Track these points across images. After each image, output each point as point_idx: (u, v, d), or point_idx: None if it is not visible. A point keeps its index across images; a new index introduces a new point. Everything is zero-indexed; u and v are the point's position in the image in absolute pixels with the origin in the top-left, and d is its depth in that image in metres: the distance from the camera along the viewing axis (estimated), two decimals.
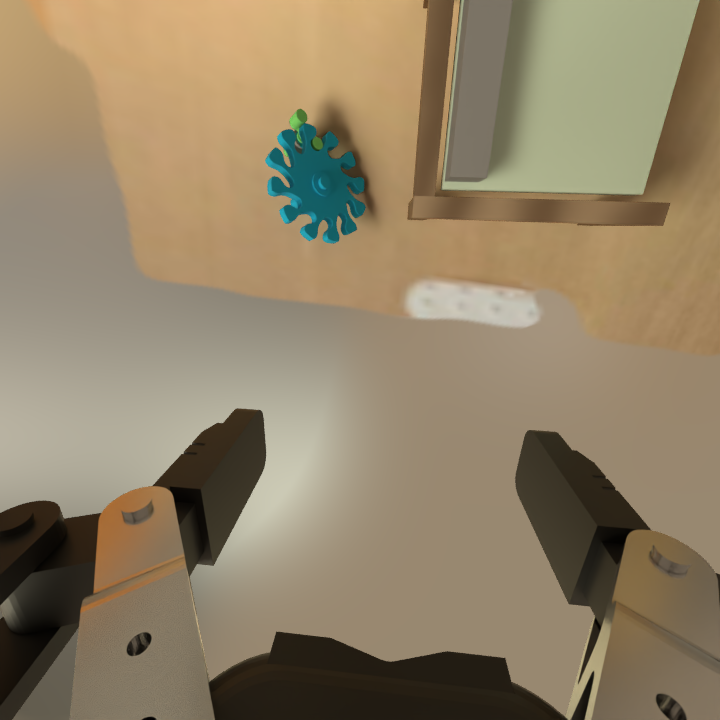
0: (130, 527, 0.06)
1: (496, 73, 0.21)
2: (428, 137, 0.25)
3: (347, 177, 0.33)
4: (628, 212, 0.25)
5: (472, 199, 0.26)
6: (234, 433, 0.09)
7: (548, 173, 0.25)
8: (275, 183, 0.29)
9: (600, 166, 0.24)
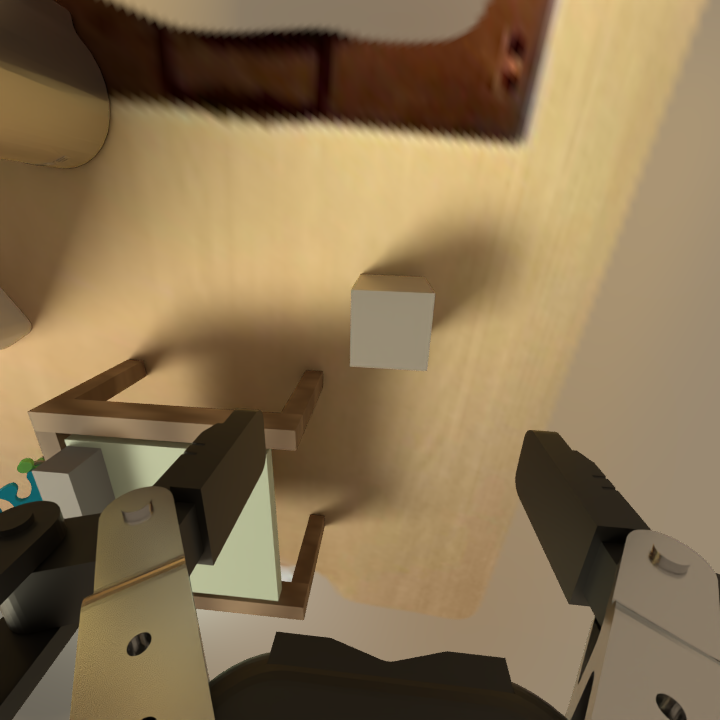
0: (130, 527, 0.06)
1: None
2: None
3: None
4: (271, 610, 0.28)
5: None
6: (234, 433, 0.09)
7: (195, 582, 0.28)
8: None
9: (235, 582, 0.28)
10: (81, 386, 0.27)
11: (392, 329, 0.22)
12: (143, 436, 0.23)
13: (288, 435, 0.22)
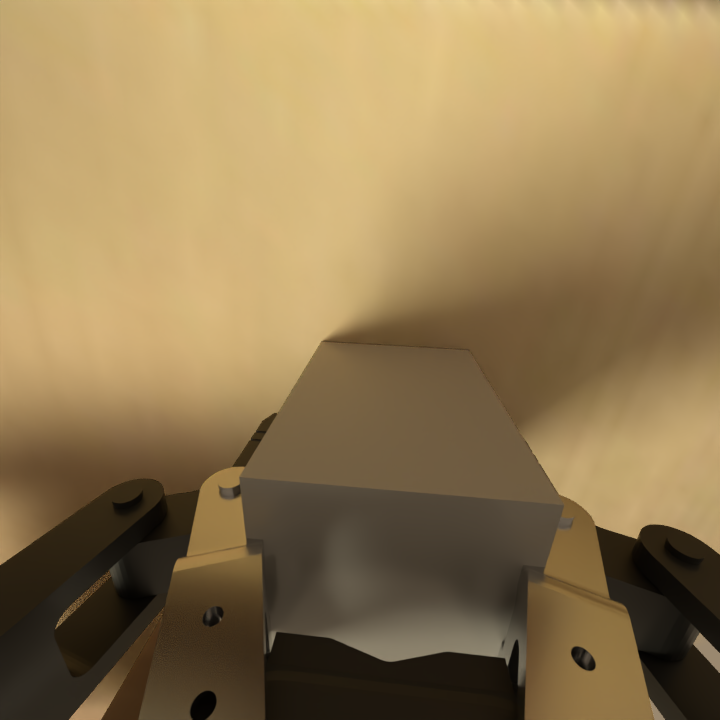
0: (231, 501, 0.07)
1: None
2: None
3: None
4: None
5: None
6: None
7: None
8: None
9: None
10: None
11: (394, 595, 0.06)
12: None
13: None
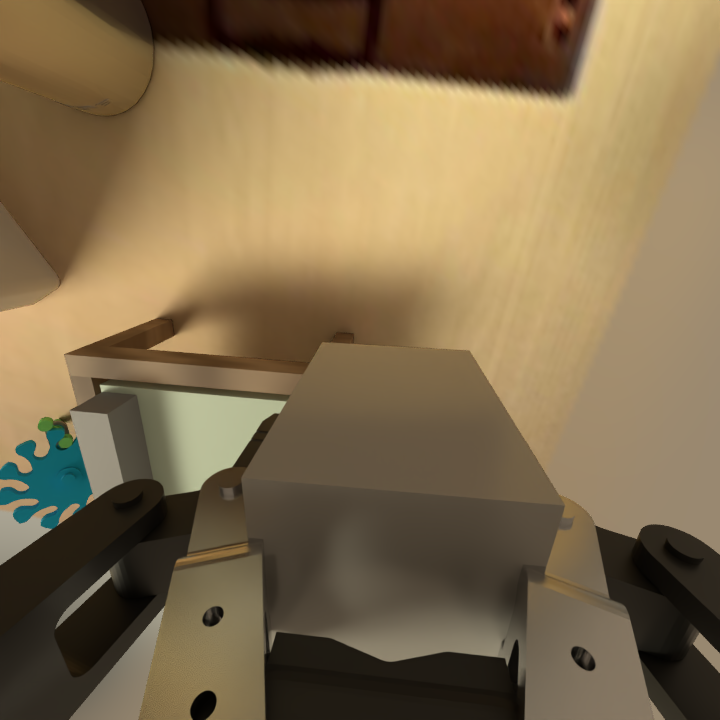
0: (231, 501, 0.07)
1: None
2: None
3: None
4: None
5: None
6: None
7: None
8: (3, 497, 0.31)
9: None
10: (113, 337, 0.26)
11: (395, 595, 0.06)
12: (181, 382, 0.23)
13: None
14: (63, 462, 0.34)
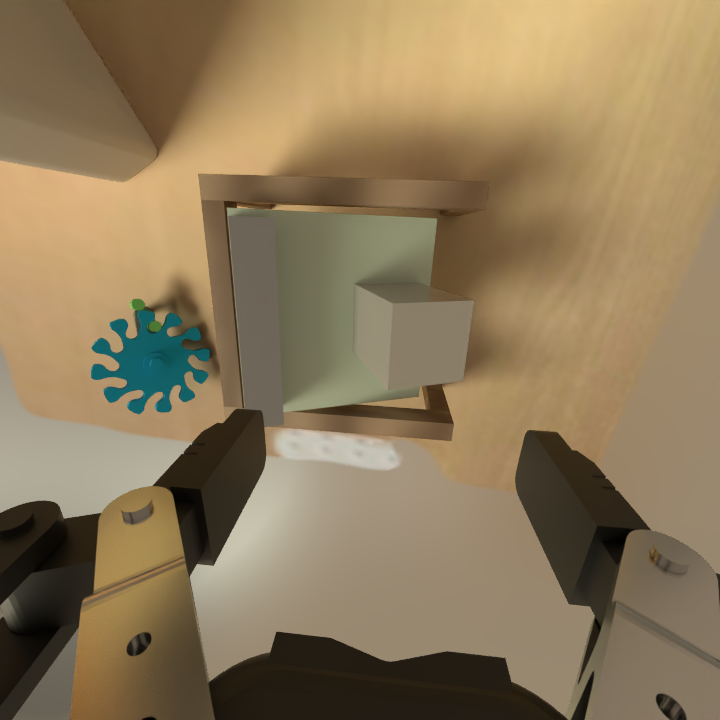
0: (130, 527, 0.06)
1: (274, 346, 0.22)
2: (227, 363, 0.27)
3: (189, 351, 0.35)
4: (418, 429, 0.27)
5: None
6: (234, 433, 0.09)
7: (342, 392, 0.27)
8: (96, 371, 0.31)
9: None
10: None
11: (432, 342, 0.20)
12: (320, 199, 0.22)
13: (480, 189, 0.21)
14: (152, 346, 0.33)
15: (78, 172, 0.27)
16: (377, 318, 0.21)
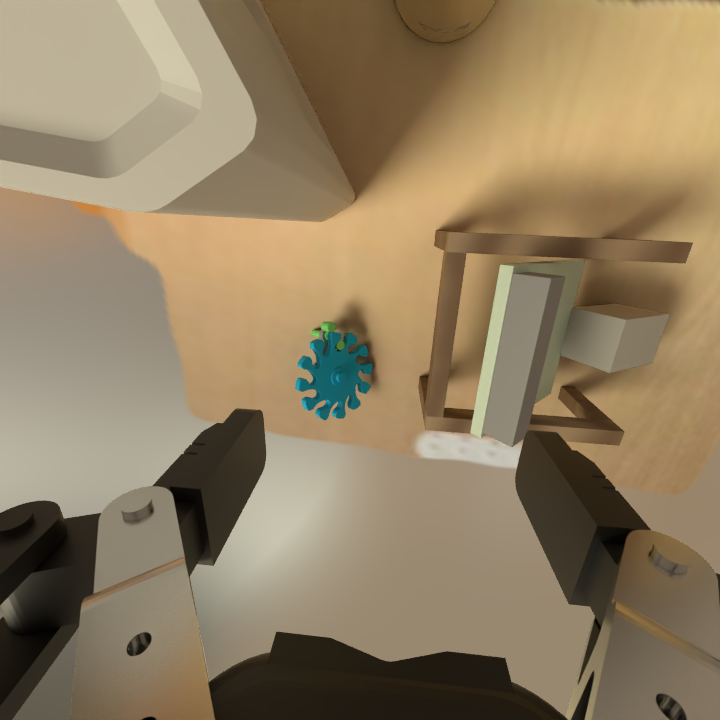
0: (130, 527, 0.06)
1: (539, 375, 0.27)
2: (438, 380, 0.32)
3: (359, 366, 0.41)
4: (592, 435, 0.33)
5: None
6: (234, 433, 0.09)
7: None
8: (302, 384, 0.36)
9: (540, 387, 0.35)
10: (447, 231, 0.31)
11: None
12: (548, 253, 0.27)
13: (684, 247, 0.26)
14: (337, 362, 0.38)
15: (311, 220, 0.32)
16: (652, 329, 0.33)
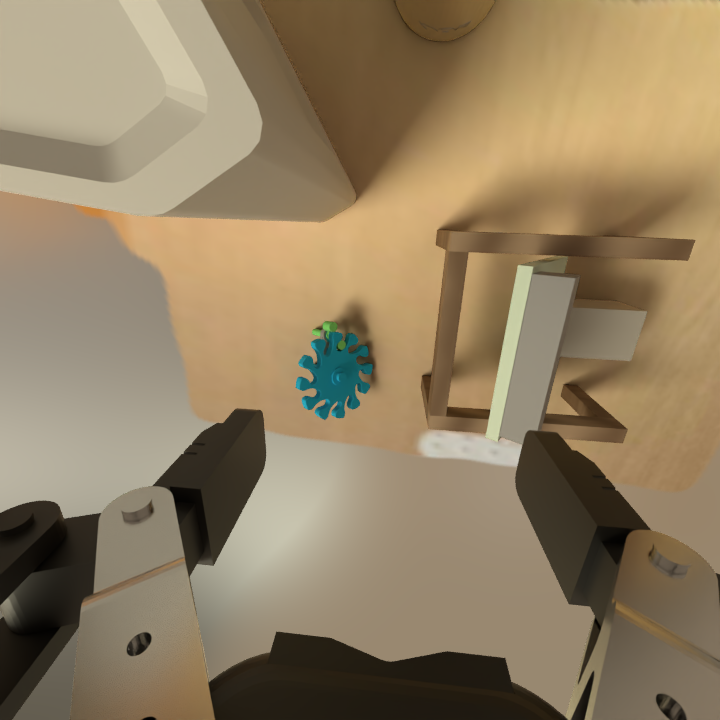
0: (130, 527, 0.06)
1: (554, 374, 0.27)
2: (441, 380, 0.32)
3: (360, 366, 0.41)
4: (595, 433, 0.33)
5: (475, 419, 0.33)
6: (234, 433, 0.09)
7: None
8: (303, 383, 0.36)
9: None
10: None
11: None
12: (550, 252, 0.27)
13: (686, 245, 0.26)
14: (338, 362, 0.38)
15: (313, 221, 0.32)
16: (619, 323, 0.33)
